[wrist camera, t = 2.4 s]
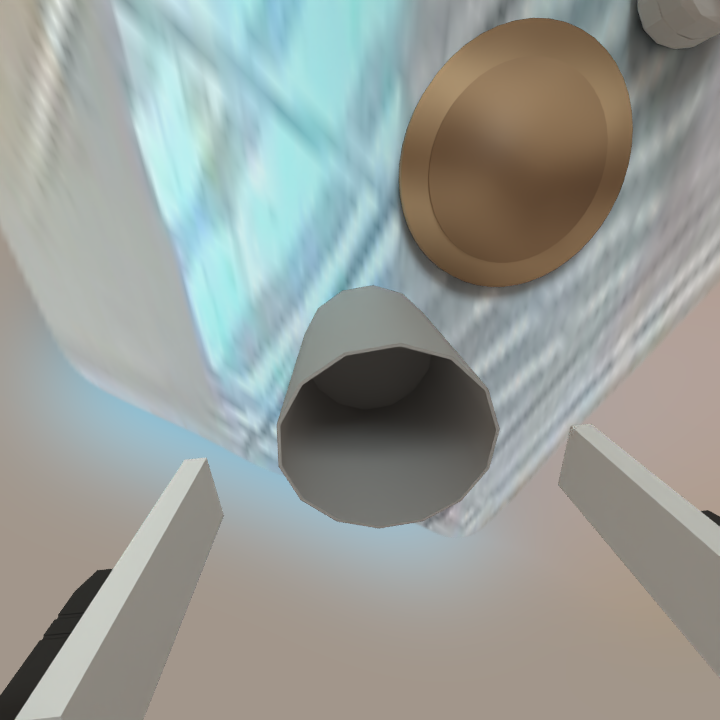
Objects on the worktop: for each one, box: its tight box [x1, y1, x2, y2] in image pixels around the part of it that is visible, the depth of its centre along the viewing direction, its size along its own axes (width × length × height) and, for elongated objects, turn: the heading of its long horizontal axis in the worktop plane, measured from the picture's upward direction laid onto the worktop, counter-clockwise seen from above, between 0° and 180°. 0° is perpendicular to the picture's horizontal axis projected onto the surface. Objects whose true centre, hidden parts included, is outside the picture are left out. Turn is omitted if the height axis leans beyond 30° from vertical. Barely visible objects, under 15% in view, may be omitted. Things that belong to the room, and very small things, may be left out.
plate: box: [399, 18, 633, 287], centre depth 18 cm, size 12×12×1 cm
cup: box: [277, 285, 499, 528], centre depth 17 cm, size 8×8×10 cm
